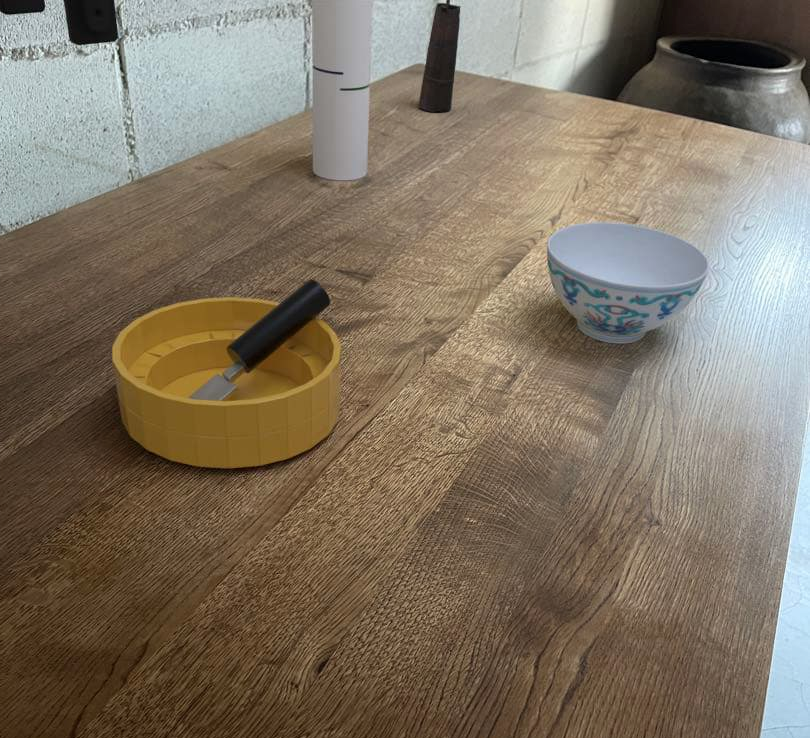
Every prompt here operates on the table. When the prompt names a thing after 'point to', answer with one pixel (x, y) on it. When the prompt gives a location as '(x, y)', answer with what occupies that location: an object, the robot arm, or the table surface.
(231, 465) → the bowl
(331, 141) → the cylindrical container
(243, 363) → the putty knife
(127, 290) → the table surface
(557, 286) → the chinaware
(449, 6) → the butter churn
